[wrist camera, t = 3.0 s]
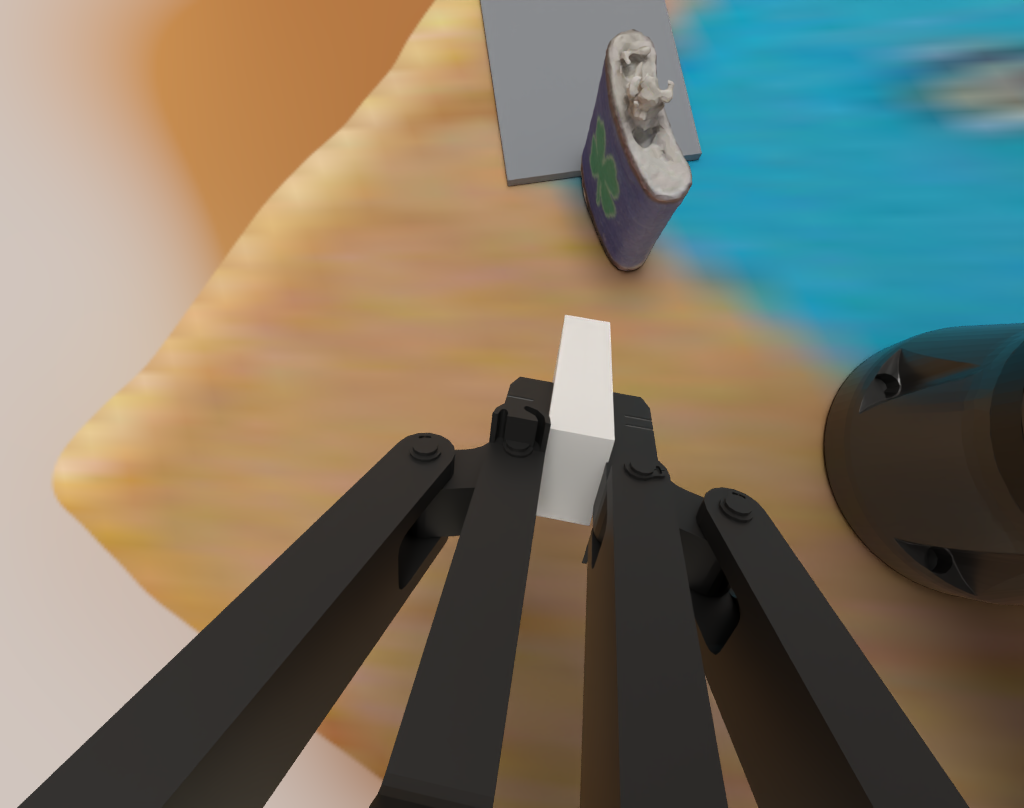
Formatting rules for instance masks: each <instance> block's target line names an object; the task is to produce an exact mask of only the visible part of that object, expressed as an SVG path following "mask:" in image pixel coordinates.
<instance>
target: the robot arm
mask: <svg viewBox="0 0 1024 808" xmlns="http://www.w3.org/2000/svg"><path fill="white" fill-rule="evenodd" d="M651 420H652V419H651V413H650V408H649V407H648V406H647V404H646V403H645V402H644V400H643V399H642V398H641V397H636V396H631V395H625V394H620V393H614V392H613V386H612V361H611V336H610V322H604V321H599V320H593V319H587V318H581V317H575V316H569V315H565V319H564V324H563V330H562V335H561V340H560V345H559V350H558V356H557V361H556V366H555V371H554V377H553V382H546V381H541V380H535V379H530V378H524V377H519V378H518V379H517V380H516V381H514V382H513V383H512V384H511V385H510V388H509V391H508V394H507V398H506V401H505V403H504V404H502V405H500V406H499V407H497V408H496V409H495V411H494V412H493V414H492V423H491V431H490V440H489V443H487V444H486V445H484V446H482V447H478V448H475V449H467V450H454V446H453V445H452V444H451V442H450V441H449V440H448V439H446V438H444V437H442V436H440V435H436V434H432V433H417V434H414V435H410V436H407V437H406V438H404V439H403V440H401V441H400V442H399V443H397V444H396V445H395V446H394V447H393V448H392V449H391V450H390V451H389V452H388V453H387V454H386V455H385V456H384V457H383V458H382V459H381V460H380V461H379V462H378V463H377V464H376V465H375V466H373V467H372V468H371V469H370V470H369V471H368V472H367V473H366V474H365V475H364V476H363V477H362V478H361V479H360V480H359V481H358V482H357V483H356V484H355V485H354V486H353V487H352V488H350V489H349V490H348V491H347V492H346V493H345V494H344V495H343V496H342V497H341V498H340V499H339V500H338V501H337V502H336V503H335V504H334V505H333V506H332V507H331V508H330V509H329V510H328V511H326V512H325V513H324V514H323V515H322V516H321V517H320V518H319V519H318V520H317V521H316V522H315V523H314V524H313V525H312V526H311V527H310V528H309V529H308V530H307V531H306V532H305V533H303V534H302V535H301V536H300V537H299V538H298V539H297V540H296V541H295V542H294V543H293V544H292V545H291V546H290V547H289V548H288V549H287V550H286V551H285V552H284V553H283V554H282V555H281V556H279V557H278V558H277V559H276V560H275V561H274V562H273V563H272V564H271V565H270V566H269V567H268V568H267V569H266V570H265V571H264V572H263V573H262V574H261V575H260V576H259V577H258V578H257V579H255V580H254V581H253V582H252V583H251V584H250V585H249V586H248V587H247V588H246V589H245V590H244V591H243V592H242V593H241V594H240V595H239V596H238V597H237V598H236V599H235V600H234V601H232V602H231V603H230V604H229V605H228V606H227V607H226V608H225V609H224V610H223V611H222V612H221V613H220V614H219V615H218V616H217V617H216V618H215V619H214V620H213V621H212V622H211V623H210V624H208V625H207V626H206V627H205V628H204V629H203V630H202V631H201V632H200V633H199V634H198V635H197V636H196V637H195V638H194V639H193V640H192V641H191V642H190V643H189V644H188V645H187V646H186V647H185V648H183V649H182V650H181V651H180V652H179V653H178V654H177V655H176V656H175V657H174V658H173V659H172V660H171V661H170V662H169V663H168V664H167V665H166V666H165V667H164V668H163V669H162V670H161V671H159V672H158V673H157V674H156V676H154V677H153V678H152V679H151V680H150V681H149V682H148V683H147V684H146V685H145V686H144V687H143V688H142V689H141V690H140V691H139V692H138V693H137V694H135V696H133V697H132V698H131V699H130V700H129V701H128V702H127V703H126V704H125V705H124V706H123V707H122V708H121V709H120V710H119V711H118V712H117V713H116V714H115V715H113V716H112V717H111V718H110V719H109V720H108V721H107V722H106V723H105V724H104V725H103V726H102V727H101V728H100V729H99V730H98V731H97V732H96V733H95V734H94V735H93V736H92V737H90V738H89V739H88V740H87V741H86V742H85V743H84V744H83V745H82V746H81V747H80V748H79V749H78V750H77V751H76V752H75V753H74V754H73V755H72V756H71V757H70V758H69V759H68V760H67V761H65V763H63V764H62V765H61V766H60V767H59V768H58V769H57V770H56V771H55V772H54V773H53V774H52V775H51V776H50V777H49V778H48V779H47V780H46V781H45V782H44V783H42V785H40V787H38V788H37V789H36V790H35V791H34V792H33V793H32V794H31V795H30V796H29V797H28V798H27V799H26V800H25V801H24V802H23V803H22V804H21V805H20V806H18V807H17V808H263V807H264V805H265V804H266V802H267V801H268V799H269V798H270V796H271V795H272V794H273V792H274V791H275V789H276V788H277V786H278V785H279V783H280V782H281V781H282V779H283V778H284V776H285V775H286V773H287V772H288V770H289V769H290V767H291V766H292V765H293V763H294V762H295V760H296V759H297V757H298V756H299V755H300V753H301V752H302V750H303V749H304V747H305V746H306V744H307V743H308V742H309V740H310V739H311V737H312V736H313V734H314V733H315V731H316V730H317V728H318V727H319V726H320V724H321V723H322V721H323V720H324V718H325V717H326V715H327V714H328V713H329V711H330V710H331V708H332V707H333V705H334V704H335V702H336V701H337V700H338V698H339V697H340V695H341V694H342V692H343V691H344V689H345V688H346V687H347V685H348V684H349V682H350V681H351V679H352V678H353V676H354V675H355V674H356V672H357V671H358V669H359V668H360V666H361V665H362V663H363V662H364V660H365V659H366V658H367V656H368V655H369V653H370V652H371V650H372V649H373V647H374V646H375V645H376V643H377V642H378V640H379V639H380V637H381V636H382V634H383V633H384V632H385V630H386V629H387V627H388V626H389V624H390V623H391V621H392V620H393V619H394V617H395V616H396V614H397V613H398V611H399V610H400V608H401V607H402V606H403V604H404V603H405V601H406V600H407V598H408V597H409V595H410V594H411V592H412V591H413V590H414V588H415V587H416V585H417V584H418V582H419V581H420V579H421V578H422V577H423V575H424V574H425V572H426V571H427V569H428V568H429V566H430V565H431V564H432V562H433V561H434V559H435V558H436V556H437V555H438V553H439V552H440V551H441V549H442V548H443V546H444V545H445V543H446V542H447V539H448V537H449V536H459V535H460V537H459V540H458V543H457V547H456V550H455V553H454V556H453V559H452V563H451V566H450V569H449V572H448V575H447V579H446V582H445V585H444V588H443V591H442V595H441V598H440V601H439V604H438V607H437V611H436V614H435V617H434V620H433V623H432V627H431V630H430V633H429V636H428V639H427V642H426V646H425V649H424V652H423V655H422V658H421V662H420V665H419V668H418V671H417V674H416V678H415V681H414V684H413V687H412V690H411V694H410V697H409V700H408V703H407V706H406V710H405V713H404V716H403V719H402V722H401V726H400V729H399V732H398V735H397V738H396V741H395V745H394V748H393V751H392V754H391V757H390V761H389V764H388V767H387V770H386V773H385V776H384V779H383V782H382V785H381V787H380V790H379V792H378V794H377V796H376V798H375V799H374V800H373V802H372V803H371V805H370V806H369V808H493V802H494V795H495V788H496V782H497V775H498V768H499V761H500V755H501V748H502V741H503V735H504V728H505V721H506V714H507V708H508V701H509V694H510V687H511V681H512V674H513V667H514V660H515V654H516V647H517V640H518V634H519V627H520V620H521V613H522V607H523V600H524V593H525V586H526V580H527V573H528V566H529V559H530V553H531V546H532V539H533V533H534V526H535V519H536V515H537V516H542V517H547V518H552V519H557V520H562V521H567V522H572V523H577V524H582V525H587V526H589V525H590V522H591V518H592V515H593V528H592V532H591V535H590V538H589V541H588V545H587V548H586V551H585V555H584V558H583V561H582V563H585V564H587V561H588V566H587V598H586V631H585V663H584V695H583V727H582V759H581V791H580V808H728V804H727V799H726V793H725V787H724V782H723V776H722V770H721V765H720V759H719V753H718V747H717V742H716V736H715V730H714V725H713V719H712V713H711V708H710V702H709V696H708V691H707V685H706V679H705V676H706V678H707V681H708V683H709V686H710V688H711V691H712V693H713V695H714V698H715V700H716V703H717V705H718V708H719V710H720V713H721V715H722V718H723V720H724V723H725V725H726V728H727V730H728V733H729V735H730V738H731V740H732V743H733V745H734V748H735V750H736V753H737V755H738V758H739V760H740V763H741V765H742V768H743V770H744V773H745V775H746V778H747V780H748V782H749V785H750V787H751V790H752V792H753V795H754V797H755V800H756V802H757V805H758V807H759V808H969V806H968V805H967V803H966V802H965V800H964V799H963V798H962V796H961V795H960V793H959V792H958V790H957V789H956V787H955V786H954V784H953V783H952V782H951V780H950V779H949V777H948V776H947V774H946V773H945V771H944V770H943V769H942V767H941V766H940V764H939V763H938V761H937V760H936V758H935V757H934V755H933V754H932V753H931V751H930V750H929V748H928V747H927V745H926V744H925V742H924V741H923V739H922V738H921V737H920V735H919V734H918V732H917V731H916V729H915V728H914V726H913V725H912V724H911V722H910V721H909V719H908V718H907V716H906V715H905V713H904V712H903V710H902V709H901V708H900V706H899V705H898V703H897V702H896V700H895V699H894V697H893V696H892V694H891V693H890V692H889V690H888V689H887V687H886V686H885V684H884V683H883V681H882V680H881V679H880V677H879V676H878V674H877V673H876V671H875V670H874V668H873V667H872V665H871V664H870V663H869V661H868V660H867V658H866V657H865V655H864V654H863V652H862V651H861V649H860V648H859V647H858V645H857V644H856V642H855V641H854V639H853V638H852V636H851V635H850V634H849V632H848V631H847V629H846V628H845V626H844V625H843V623H842V622H841V620H840V619H839V618H838V616H837V615H836V613H835V612H834V610H833V609H832V607H831V606H830V605H829V603H828V602H827V600H826V599H825V597H824V596H823V594H822V593H821V591H820V590H819V589H818V587H817V586H816V584H815V583H814V581H813V580H812V578H811V577H810V575H809V574H808V573H807V571H806V570H805V568H804V567H803V565H802V564H801V562H800V561H799V560H798V558H797V557H796V555H795V554H794V552H793V551H792V549H791V548H790V546H789V545H788V544H787V542H786V541H785V539H784V538H783V536H782V535H781V533H780V532H779V530H778V529H777V528H776V526H775V525H774V523H773V522H772V520H771V519H770V517H769V516H768V515H767V513H766V512H765V510H764V509H763V508H762V507H761V506H760V505H759V504H758V503H757V502H756V501H755V500H754V499H752V498H751V497H749V496H748V495H746V494H744V493H742V492H739V491H737V490H734V489H729V488H723V487H722V488H714V489H711V490H710V491H708V492H707V493H706V494H705V497H704V498H703V497H701V496H699V495H696V494H694V493H691V492H689V491H687V490H685V489H683V488H681V487H679V486H677V485H675V484H674V483H673V482H671V480H670V475H669V473H668V471H667V469H666V468H665V467H664V466H663V465H662V464H661V463H660V462H659V461H658V458H657V451H656V445H655V439H654V432H653V426H652V422H651ZM825 461H826V467H827V473H828V477H829V481H830V484H831V488H832V490H833V493H834V496H835V498H836V501H837V503H838V505H839V507H840V509H841V511H842V513H843V514H844V516H845V518H846V520H847V521H848V523H849V524H850V526H851V527H852V529H853V530H854V531H855V533H856V534H857V535H858V537H859V538H860V539H861V540H862V541H863V542H864V544H865V545H866V546H867V547H868V548H869V549H870V550H871V551H872V552H873V553H874V554H875V555H876V556H878V557H879V558H880V559H881V560H882V561H883V562H885V563H886V564H887V565H888V566H890V567H891V568H893V569H894V570H896V571H897V572H898V573H900V574H902V575H903V576H905V577H907V578H909V579H910V580H912V581H914V582H916V583H918V584H921V585H923V586H925V587H928V588H930V589H933V590H936V591H939V592H943V593H946V594H950V595H955V596H959V597H964V598H968V599H973V600H977V601H982V602H987V603H994V604H1003V605H1024V323H1016V324H997V325H977V326H959V327H949V328H944V329H939V330H934V331H930V332H926V333H923V334H920V335H917V336H914V337H912V338H909V339H907V340H905V341H902V342H900V343H897V344H895V345H893V346H890V347H888V348H886V349H884V350H882V351H880V352H878V353H876V354H874V355H873V356H871V357H870V358H868V359H867V360H866V361H864V362H863V363H862V364H861V365H860V366H858V367H857V368H856V369H855V370H854V371H853V372H852V374H851V375H850V376H849V377H848V378H847V380H846V381H845V382H844V384H843V385H842V387H841V388H840V390H839V392H838V393H837V395H836V397H835V399H834V402H833V404H832V407H831V410H830V413H829V416H828V420H827V425H826V431H825ZM704 673H705V674H704Z"/></svg>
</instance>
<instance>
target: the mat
mask: <svg viewBox="0 0 1024 808" xmlns="http://www.w3.org/2000/svg"><path fill="white" fill-rule="evenodd" d="M480 3H481V9H482V16H483V22H484V29H485V36H486V42H487V49H488V56H489V62H490V69H491V76H492V82H493V89H494V95H495V102H496V109H497V115H498V122H499V129H500V135H501V142H502V149H503V155H504V162H505V168H506V175H507V182H508V186H512V185H520V184H527V183H534V182H541V181H548V180H555V179H562V178H569V177H576V176H581V171H580V168H581V157H582V153H583V149H584V147H585V144H586V139H587V135H588V131H589V126H590V122H591V118H592V115H593V110H594V107H595V102H596V98H597V93H598V87H599V82H600V79H601V75H602V69H603V65H604V59H605V56H606V50H607V47H608V44H609V42H610V41H611V40H612V39H613V38H614V37H615V36H616V35H617V34H619V33H621V32H625V31H628V30H631V29H635V30H636V31H639V32H642V34H643V35H644V36H647V37H649V38H650V39H651V41H652V42H653V44H654V47H655V51H656V55H657V63H656V67H657V78H658V84H659V89H661V90H666V89H667V88H668V80H670V81H672V82H673V83H674V88H673V99H672V100H671V101H670V102H669V103H665V102H664V103H665V106H664V108H665V111H666V114H667V118H668V120H669V123H670V125H671V129H672V130H673V135H674V137H675V139H676V142H677V144H678V145H679V147H680V148H681V151H682V153H683V156H684V158H685V159H686V161H690V160H697V159H699V157H700V155H701V153H702V152H701V148H700V144H699V140H698V136H697V132H696V128H695V123H694V119H693V115H692V111H691V107H690V103H689V99H688V95H687V90H686V86H685V82H684V78H683V74H682V70H681V66H680V62H679V57H678V53H677V49H676V45H675V41H674V37H673V33H672V29H671V24H670V20H669V16H668V12H667V8H666V4H665V0H480Z"/></svg>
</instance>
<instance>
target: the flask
mask: <svg viewBox="0 0 1024 808" xmlns="http://www.w3.org/2000/svg"><path fill="white" fill-rule="evenodd" d="M656 63H657V55H656V51H655V47H654V44H653V42H652V41H651V39H650V38H649V37H647V36H644V35H643V34H642V32H639V31H636V30H635V29H631V30H628V31H625V32H621V33H619V34H617V35H616V36H615V37H614V38H613V39H612V40H611V41H610V42H609V44H608V47H607V50H606V56H605V59H604V65H603V69H602V75H601V79H600V82H599V87H598V93H597V98H596V102H595V107H594V110H593V115H592V118H591V122H590V126H589V131H588V135H587V139H586V144H585V147H584V149H583V153H582V157H581V168H580V171H581V176H582V187H583V188H584V189H583V190H584V196H585V197H584V198H585V201H586V203H587V209H588V211H589V212H590V215H591V217H592V221H593V223H594V226H595V229H596V231H597V235H599V238H600V242H601V245H602V246H603V248H604V250H605V253H606V255H607V256H608V258H609V259H610V260H611V262H612V263H613V265H614V266H617V268H618V269H621V270H624V271H630V270H635V269H637V268H638V267H640V266H642V265H643V263H644V262H645V261H646V259H647V257H648V255H649V253H650V251H651V249H652V248H653V246H654V244H655V242H656V240H657V239H658V237H659V236H660V234H661V232H662V230H663V229H664V228H665V226H666V224H667V222H668V221H669V219H670V218H671V216H672V215H673V213H674V212H675V210H676V209H677V207H678V206H679V205H680V204H681V202H682V201H683V199H684V197H685V196H686V194H687V193H688V191H689V189H690V187H691V185H692V175H691V170H690V166H689V164H688V162H687V161H686V159H685V158H684V156H683V153H682V151H681V148H680V147H679V145H678V144H677V142H676V139H675V137H674V135H673V130H672V129H671V125H670V123H669V120H668V118H667V114H666V111H665V108H664V106H665V103H669V102H670V101H671V100H672V99H673V88H674V83H673V82H672V81H670V80H668V88H667V89H666V90H661V89H659V84H658V78H657V67H656ZM664 102H665V103H664ZM627 269H630V270H627Z"/></svg>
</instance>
